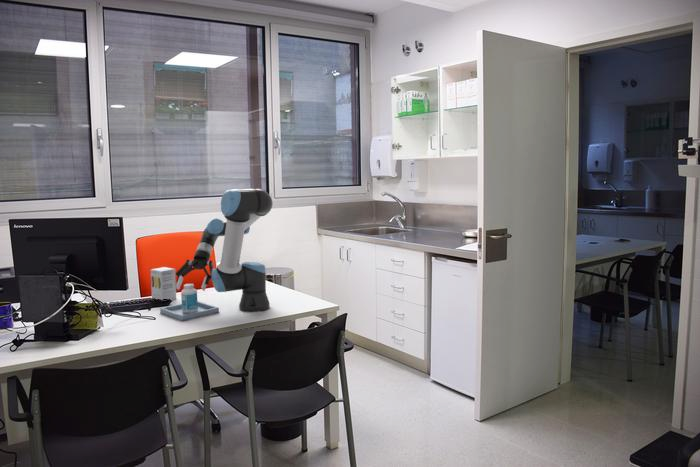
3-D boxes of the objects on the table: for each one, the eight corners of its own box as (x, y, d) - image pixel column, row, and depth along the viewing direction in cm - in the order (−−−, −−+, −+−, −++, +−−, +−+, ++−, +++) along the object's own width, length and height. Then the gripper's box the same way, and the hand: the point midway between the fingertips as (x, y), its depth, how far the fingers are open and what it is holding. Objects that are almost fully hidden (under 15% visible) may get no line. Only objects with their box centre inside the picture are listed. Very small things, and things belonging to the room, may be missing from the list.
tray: (218, 312, 265) (218, 307, 264) (182, 321, 250) (181, 315, 250) (196, 305, 278) (196, 300, 278) (160, 313, 263) (160, 308, 263)
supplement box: (151, 300, 289) (149, 269, 287) (165, 296, 297) (164, 266, 295) (162, 302, 284) (160, 271, 282) (177, 299, 292) (175, 268, 289)
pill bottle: (200, 309, 267) (199, 283, 266) (194, 313, 260) (193, 286, 258) (185, 309, 268) (184, 282, 266) (179, 313, 261) (178, 286, 259)
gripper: (228, 258, 278) (216, 293, 265) (183, 257, 283) (170, 291, 270) (223, 249, 272) (210, 285, 259) (178, 248, 277) (163, 283, 264)
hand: (190, 288), depth 265 cm, fingers open, 13 cm apart
